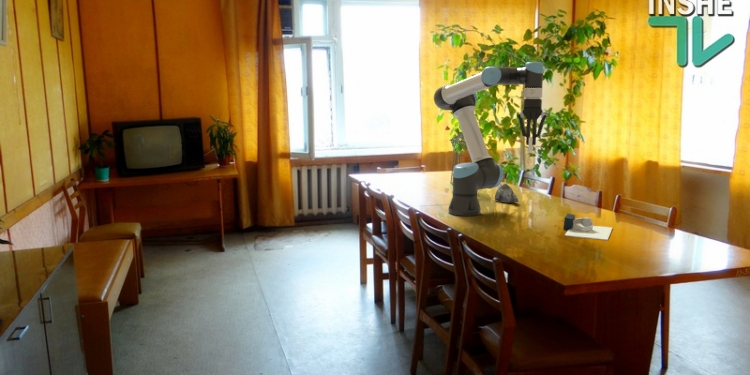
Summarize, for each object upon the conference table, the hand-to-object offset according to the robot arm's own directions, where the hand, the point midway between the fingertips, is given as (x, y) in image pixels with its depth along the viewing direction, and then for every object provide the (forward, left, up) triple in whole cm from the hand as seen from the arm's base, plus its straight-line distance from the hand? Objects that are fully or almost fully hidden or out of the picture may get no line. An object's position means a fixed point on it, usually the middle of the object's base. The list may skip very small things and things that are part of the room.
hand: (530, 152), depth 255 cm
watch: (+18, -10, -27) cm, 34 cm away
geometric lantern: (-48, +57, -31) cm, 80 cm away
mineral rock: (-19, +36, -31) cm, 51 cm away
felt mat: (+28, -12, -30) cm, 43 cm away
